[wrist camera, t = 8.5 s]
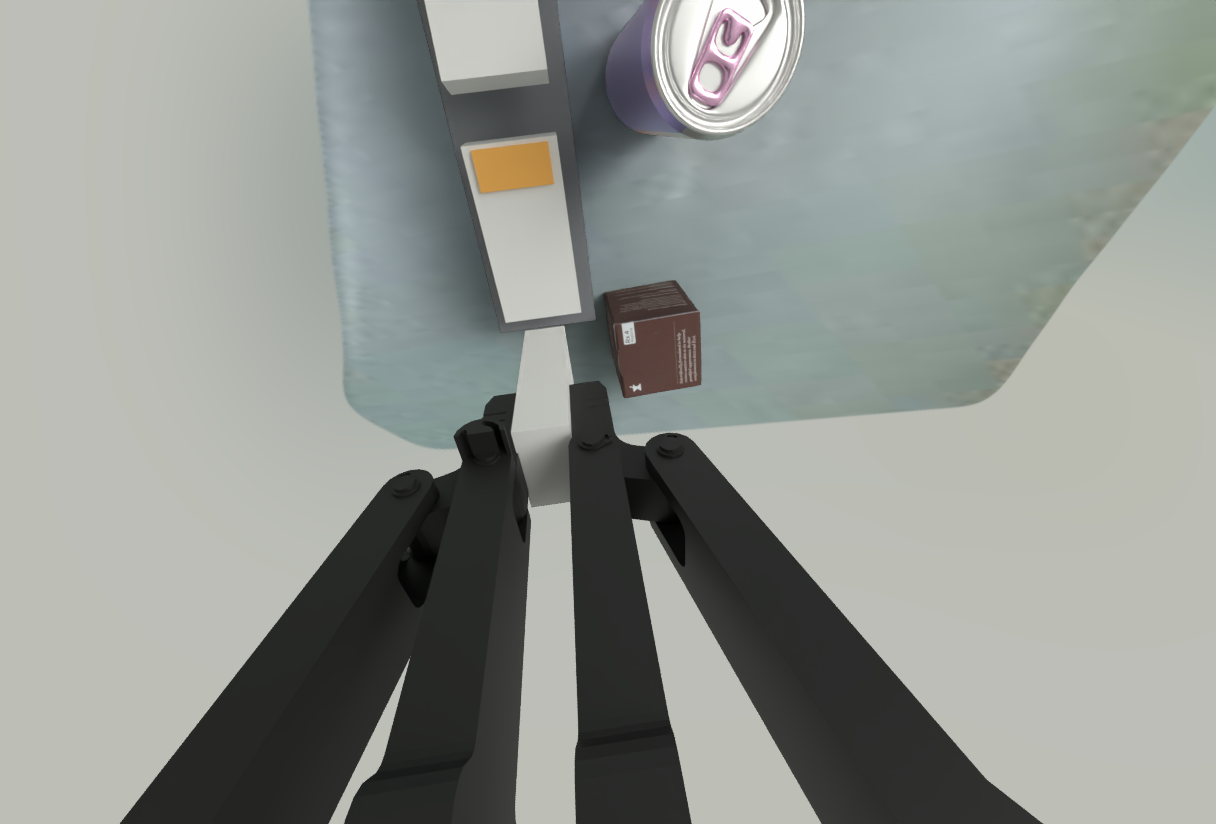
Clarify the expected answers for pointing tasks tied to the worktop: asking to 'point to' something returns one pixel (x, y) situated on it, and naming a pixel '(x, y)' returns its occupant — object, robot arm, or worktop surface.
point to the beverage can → (703, 65)
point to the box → (654, 338)
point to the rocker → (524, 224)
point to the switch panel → (519, 117)
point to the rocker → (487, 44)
